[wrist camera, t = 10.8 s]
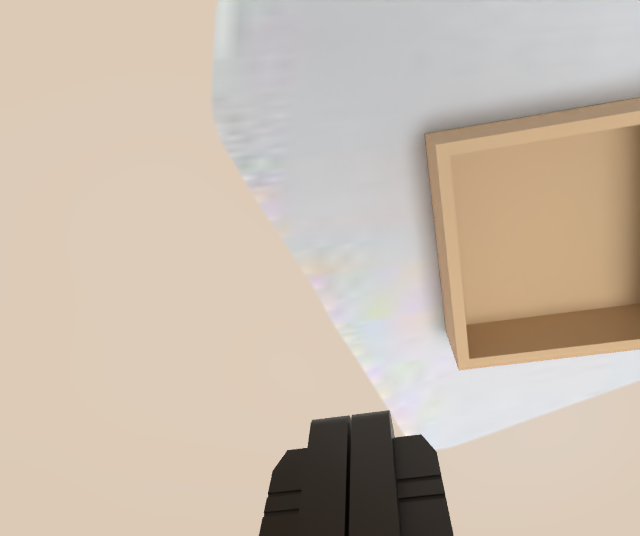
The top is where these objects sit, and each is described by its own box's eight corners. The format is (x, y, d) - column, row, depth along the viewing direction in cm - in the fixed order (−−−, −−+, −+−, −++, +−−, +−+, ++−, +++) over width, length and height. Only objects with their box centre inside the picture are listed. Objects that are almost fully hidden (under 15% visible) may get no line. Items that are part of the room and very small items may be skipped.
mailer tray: (424, 133, 39) (435, 144, 33) (723, 83, 36) (790, 85, 31) (446, 331, 44) (458, 370, 38) (708, 299, 42) (763, 335, 36)
